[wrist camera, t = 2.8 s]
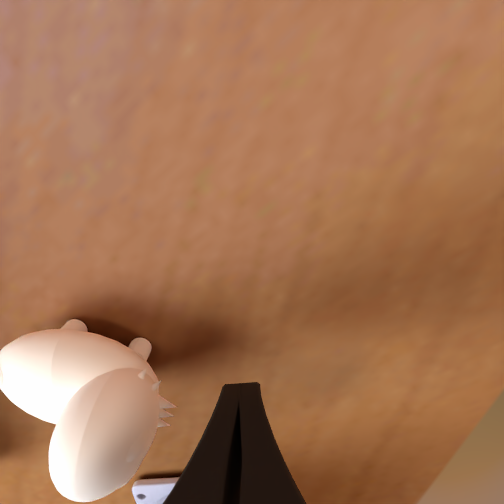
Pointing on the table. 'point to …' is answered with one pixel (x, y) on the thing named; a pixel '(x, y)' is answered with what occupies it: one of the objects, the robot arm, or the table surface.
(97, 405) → the toy creature
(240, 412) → the robot arm
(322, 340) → the table surface
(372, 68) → the table surface
